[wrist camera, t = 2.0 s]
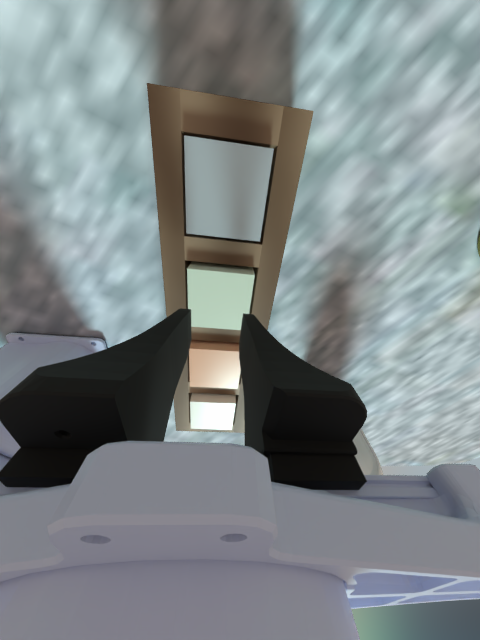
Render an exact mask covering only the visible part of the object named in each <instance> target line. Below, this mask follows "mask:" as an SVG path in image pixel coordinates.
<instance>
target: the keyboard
mask: <svg viewBox="0 0 480 640" xmlns="http://www.w3.org/2000/svg"><path fill="white" fill-rule="evenodd" d="M147 89H148V101H149V113H150V125H151V137H152V148H153V160H154V172H155V184H156V196H157V208H158V220H159V232H160V244H161V255H162V267H163V279H164V291H165V303H166V315H167V317H168V316H170V315H171V314H173V313H174V312H175V311H177V310H178V309H180V308H182V309H188V284H187V268H188V267H189V265H190V264H191V262H192V261H197V262H207V263H217V264H228V265H238V266H248V267H253V271H254V274H255V278H254V284H253V291H252V298H251V304H250V311H249V314H254V315H255V316H256V318H257V319H258V320H259V321H260V323H261V324H262V325H263V326H264V327H265V329H266V330H267V329H268V325H269V320H270V315H271V310H272V306H273V301H274V296H275V291H276V287H277V282H278V277H279V272H280V268H281V263H282V258H283V253H284V249H285V244H286V239H287V234H288V230H289V225H290V220H291V215H292V211H293V206H294V201H295V196H296V192H297V187H298V182H299V177H300V173H301V168H302V163H303V158H304V154H305V149H306V144H307V139H308V135H309V130H310V125H311V121H312V116H313V111H310V110H304V109H298V108H292V107H286V106H280V105H274V104H268V103H262V102H256V101H250V100H244V99H238V98H233V97H227V96H221V95H215V94H209V93H203V92H197V91H191V90H185V89H179V88H173V87H167V86H161V85H155V84H149V83H147ZM184 135H185V136H192V137H199V138H205V139H212V140H219V141H225V142H232V143H239V144H245V145H252V146H259V147H265V148H272V149H274V151H273V157H272V164H271V171H270V177H269V184H268V191H267V197H266V204H265V211H264V218H263V224H262V231H261V238H260V242H259V241H250V240H241V239H232V238H223V237H214V236H205V235H196V234H187V233H186V196H185V152H184ZM240 332H241V330H231V329H217V328H204V327H191V335H192V340H205V341H219V342H234V343H239V340H240ZM192 393H206V394H228V395H236V405H235V411H234V418H233V425H232V430H216V429H191V416H190V400H191V395H192ZM174 410H175V422H176V431H202V432H234V433H245V420H244V392H243V384H242V376H241V371H240V378H239V385H238V389H229V388H209V387H190V372H189V354H188V357H187V360H186V363H185V365H184V368H183V371H182V374H181V377H180V379H179V382H178V385H177V388H176V391H175V394H174Z"/></svg>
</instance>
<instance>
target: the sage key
mask: <svg viewBox="0 0 480 640" xmlns="http://www.w3.org/2000/svg"><path fill="white" fill-rule="evenodd" d="M254 278H255V274H254V271H253V267H248V266H238V265H228V264H217V263H207V262H197V261H192V262H191V264H190V265H189V267H188V268H187V284H188V309H191V327H204V328H217V329H231V330H241V325H242V317H243V313H244V314H249V311H250V304H251V298H252V291H253V284H254Z"/></svg>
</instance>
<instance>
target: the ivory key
mask: <svg viewBox="0 0 480 640" xmlns="http://www.w3.org/2000/svg"><path fill="white" fill-rule="evenodd" d="M235 405H236V395H228V394H206V393H192V395H191V400H190V416H191V429H216V430H232V425H233V418H234V411H235Z"/></svg>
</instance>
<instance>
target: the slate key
mask: <svg viewBox="0 0 480 640" xmlns="http://www.w3.org/2000/svg"><path fill="white" fill-rule="evenodd" d="M273 151H274V149H272V148H265V147H259V146H252V145H245V144H239V143H232V142H225V141H219V140H212V139H205V138H199V137H192V136H185V135H184V152H185V196H186V233H187V234H196V235H205V236H214V237H223V238H232V239H241V240H250V241H259V242H260V238H261V231H262V224H263V218H264V211H265V204H266V197H267V191H268V184H269V177H270V171H271V164H272V157H273Z"/></svg>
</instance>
